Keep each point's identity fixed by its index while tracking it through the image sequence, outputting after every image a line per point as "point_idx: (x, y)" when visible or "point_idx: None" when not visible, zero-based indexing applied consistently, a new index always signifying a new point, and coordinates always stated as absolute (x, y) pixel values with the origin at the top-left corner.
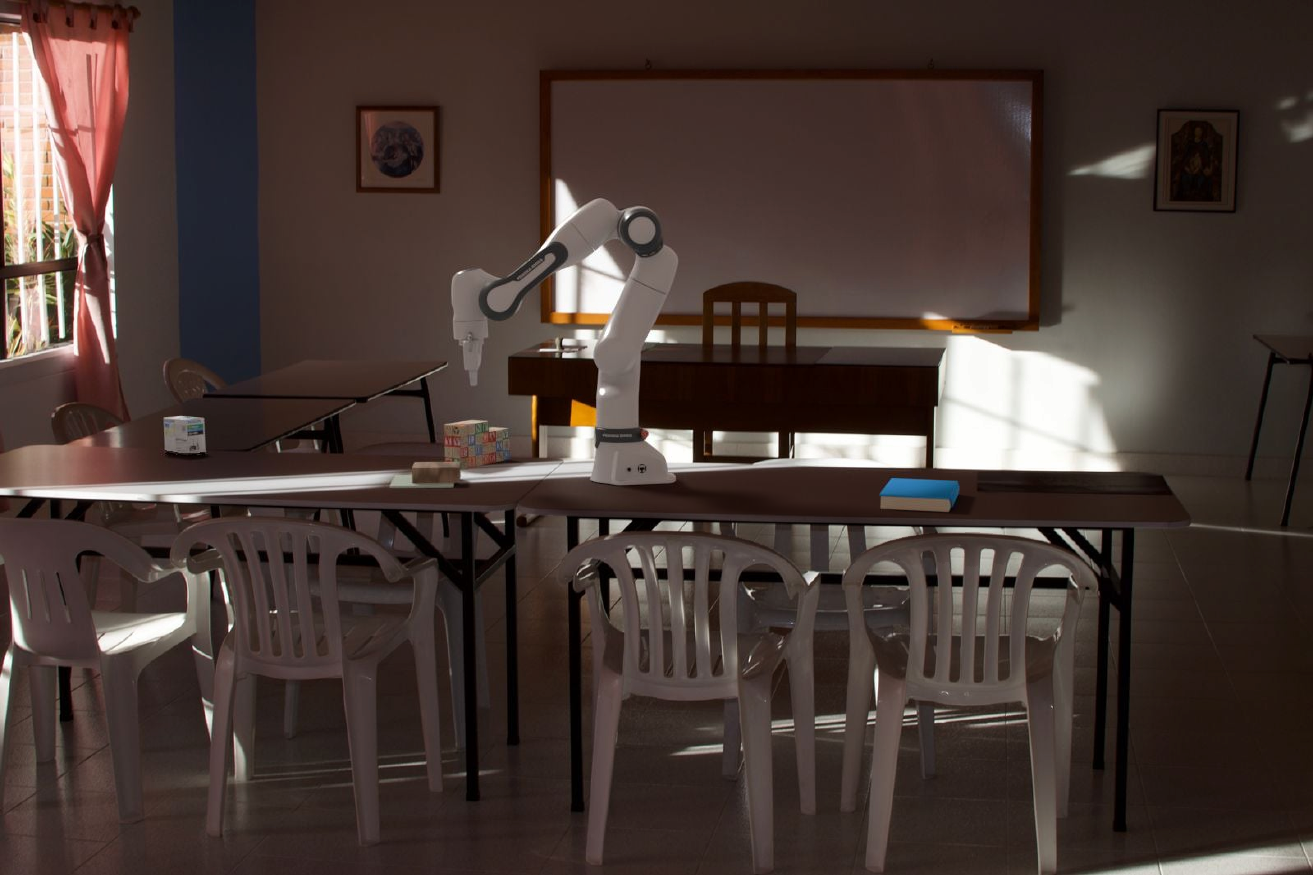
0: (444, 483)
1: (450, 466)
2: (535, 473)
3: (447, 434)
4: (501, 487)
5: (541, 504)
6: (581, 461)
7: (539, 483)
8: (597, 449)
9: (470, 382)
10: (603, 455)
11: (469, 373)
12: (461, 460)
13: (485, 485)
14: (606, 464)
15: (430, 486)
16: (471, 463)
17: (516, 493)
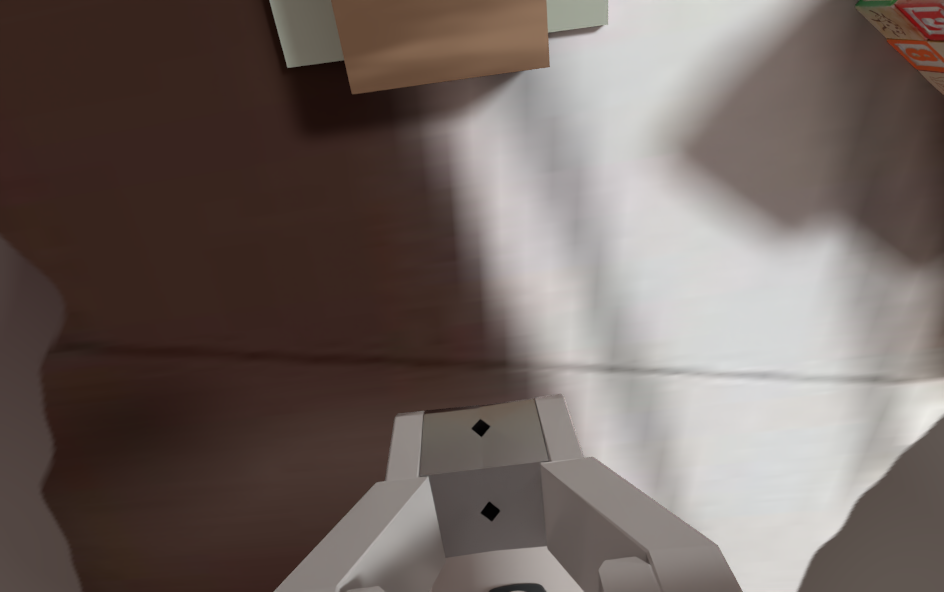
0: (330, 13)
1: (374, 39)
2: (660, 329)
3: None
4: (337, 261)
5: (47, 413)
6: (897, 428)
7: (440, 365)
8: (488, 587)
9: (393, 441)
10: (460, 586)
11: (287, 588)
12: (884, 7)
13: (374, 196)
14: (446, 567)
15: None
16: (912, 52)
17: (221, 324)
